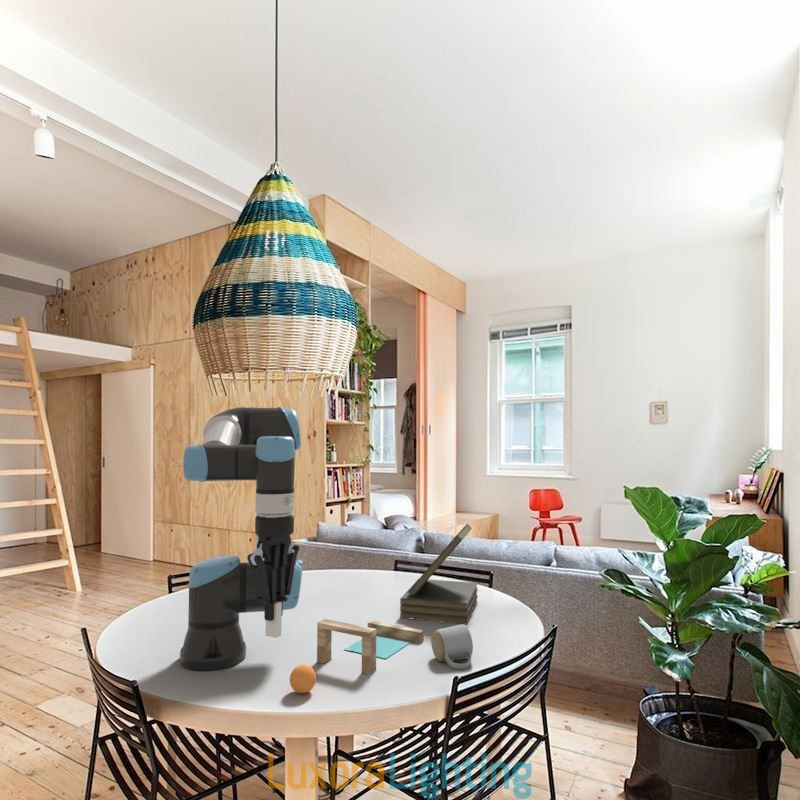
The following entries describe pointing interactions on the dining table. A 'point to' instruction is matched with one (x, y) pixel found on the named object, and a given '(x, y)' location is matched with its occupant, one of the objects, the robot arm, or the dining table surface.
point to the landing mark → (381, 647)
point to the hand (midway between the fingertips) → (273, 635)
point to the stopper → (397, 631)
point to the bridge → (366, 633)
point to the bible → (440, 593)
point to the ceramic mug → (453, 645)
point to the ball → (302, 678)
